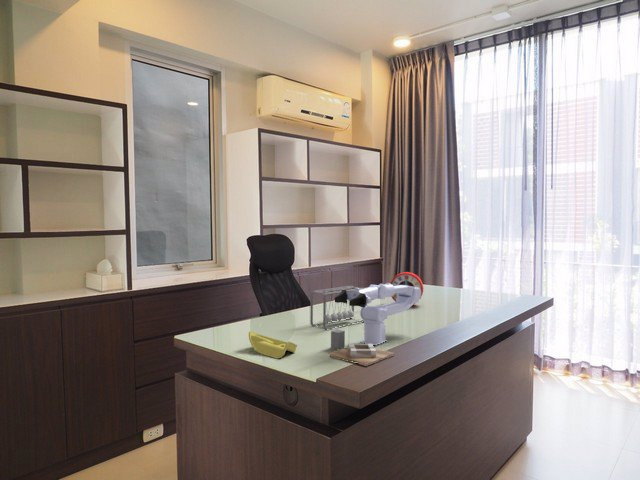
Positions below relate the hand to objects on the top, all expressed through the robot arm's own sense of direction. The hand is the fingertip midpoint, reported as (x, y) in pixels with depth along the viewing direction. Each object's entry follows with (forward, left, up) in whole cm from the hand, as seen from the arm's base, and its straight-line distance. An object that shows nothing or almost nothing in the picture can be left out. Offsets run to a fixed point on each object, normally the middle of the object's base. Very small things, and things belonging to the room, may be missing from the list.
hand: (342, 301), depth 180 cm
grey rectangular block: (-4, -5, -21) cm, 21 cm away
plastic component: (+18, -22, -21) cm, 35 cm away
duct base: (-2, +9, -20) cm, 22 cm away
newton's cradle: (-36, -31, -21) cm, 52 cm away
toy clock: (-102, -33, -21) cm, 109 cm away
